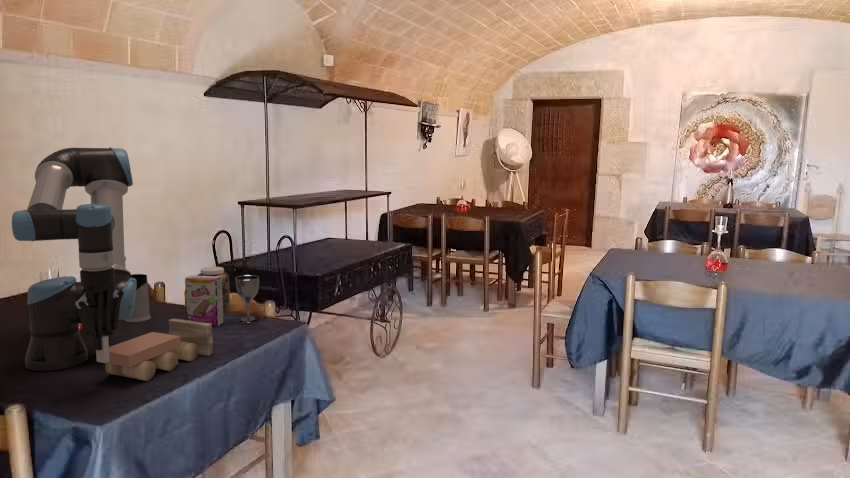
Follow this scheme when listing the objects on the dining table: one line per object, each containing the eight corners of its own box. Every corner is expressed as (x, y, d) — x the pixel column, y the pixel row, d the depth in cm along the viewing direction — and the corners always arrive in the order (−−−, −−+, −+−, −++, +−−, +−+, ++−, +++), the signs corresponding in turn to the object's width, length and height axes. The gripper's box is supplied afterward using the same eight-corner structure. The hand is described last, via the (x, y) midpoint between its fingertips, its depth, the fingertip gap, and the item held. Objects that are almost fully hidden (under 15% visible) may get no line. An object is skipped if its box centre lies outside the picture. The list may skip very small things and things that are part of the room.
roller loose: (186, 364, 178) (185, 347, 177) (155, 358, 182) (153, 342, 181) (199, 357, 182) (197, 340, 181) (168, 352, 186) (166, 336, 185)
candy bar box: (185, 325, 213) (183, 277, 211) (192, 321, 218) (190, 274, 216) (218, 327, 212) (216, 278, 210) (224, 323, 217) (222, 275, 215)
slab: (129, 367, 159) (128, 355, 159) (99, 361, 163) (98, 350, 162) (180, 346, 176) (180, 336, 176) (152, 342, 180) (152, 331, 179)
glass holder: (141, 322, 217) (139, 279, 214) (103, 320, 219) (100, 277, 217) (156, 315, 225) (154, 274, 223) (119, 313, 227) (117, 272, 225)
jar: (191, 312, 231) (190, 271, 228) (203, 304, 242) (202, 265, 240) (224, 312, 230) (222, 272, 228) (234, 304, 242) (233, 266, 240)
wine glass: (235, 317, 224) (234, 275, 222) (258, 315, 227) (257, 274, 225) (237, 323, 217) (235, 280, 215) (261, 321, 219) (260, 279, 217)
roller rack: (144, 384, 162) (142, 349, 160) (102, 376, 167) (100, 343, 165) (212, 353, 186) (211, 323, 184) (174, 347, 191) (173, 318, 189)
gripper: (85, 274, 147) (92, 372, 151) (130, 264, 159) (135, 355, 163) (62, 271, 150) (69, 367, 153) (108, 262, 162) (113, 351, 165)
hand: (103, 361), depth 158 cm, fingers closed
